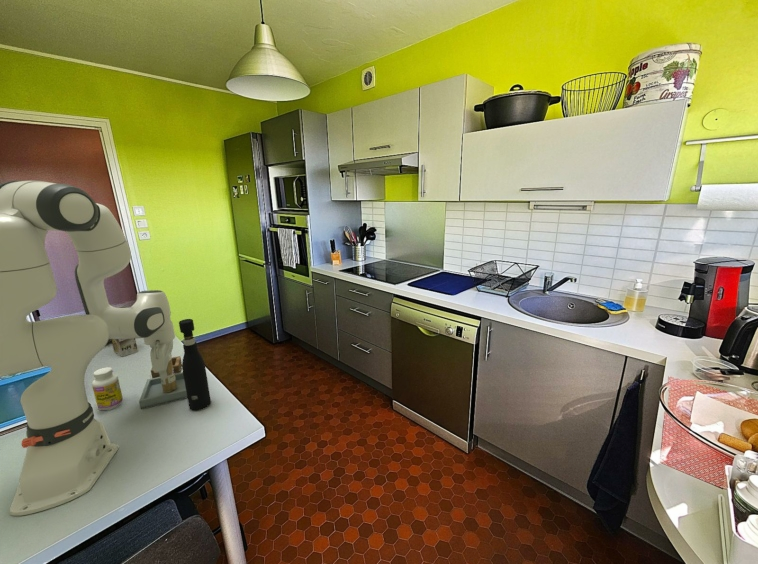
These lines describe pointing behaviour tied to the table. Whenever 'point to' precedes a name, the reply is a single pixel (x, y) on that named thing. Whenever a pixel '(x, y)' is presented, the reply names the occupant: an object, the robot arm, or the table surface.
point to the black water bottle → (194, 369)
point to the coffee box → (124, 346)
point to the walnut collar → (176, 365)
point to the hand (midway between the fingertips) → (166, 371)
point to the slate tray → (155, 393)
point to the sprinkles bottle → (169, 378)
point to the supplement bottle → (106, 389)
